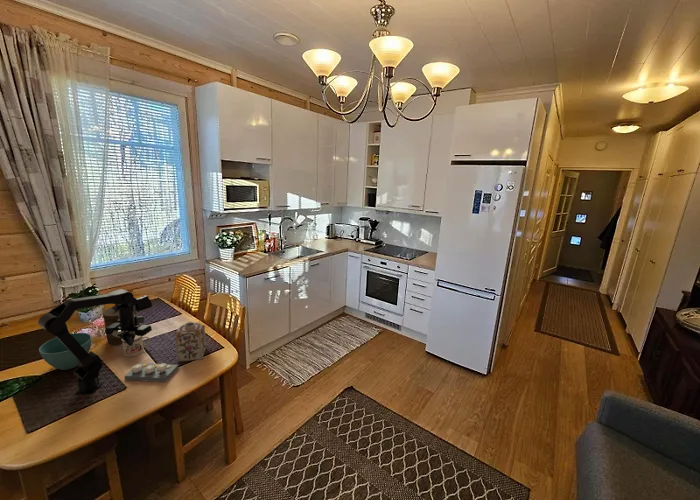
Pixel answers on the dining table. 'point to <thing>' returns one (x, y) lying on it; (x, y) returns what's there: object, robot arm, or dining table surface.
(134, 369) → the button inner
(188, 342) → the decorative jar
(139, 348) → the teacup with lid
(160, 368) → the white lever knob
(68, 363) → the teal bowl
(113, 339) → the wooden container
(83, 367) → the robot arm
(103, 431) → the dining table surface
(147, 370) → the button middle
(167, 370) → the board
